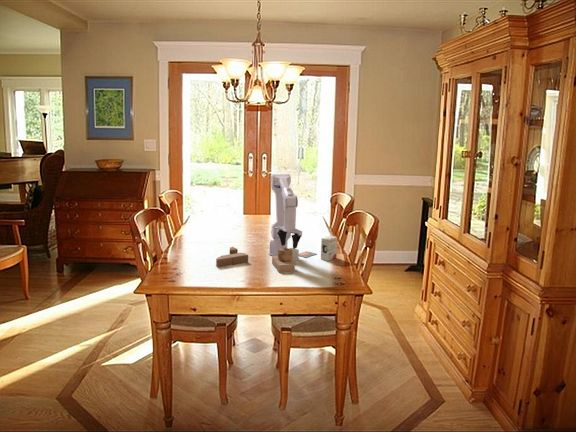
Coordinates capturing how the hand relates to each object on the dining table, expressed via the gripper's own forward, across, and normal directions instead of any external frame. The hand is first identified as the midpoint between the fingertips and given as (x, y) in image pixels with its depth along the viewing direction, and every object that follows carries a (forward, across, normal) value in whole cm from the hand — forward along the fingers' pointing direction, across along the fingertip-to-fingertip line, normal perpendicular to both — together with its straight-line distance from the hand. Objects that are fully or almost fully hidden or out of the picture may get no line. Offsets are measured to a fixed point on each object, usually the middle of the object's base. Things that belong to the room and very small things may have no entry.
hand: (289, 246), depth 247 cm
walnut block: (+6, 0, -2) cm, 7 cm away
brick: (+11, -1, -3) cm, 11 cm away
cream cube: (+10, -8, +12) cm, 18 cm away
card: (+10, -7, +23) cm, 26 cm away
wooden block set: (+11, -29, -15) cm, 35 cm away
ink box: (+11, +6, +26) cm, 29 cm away
